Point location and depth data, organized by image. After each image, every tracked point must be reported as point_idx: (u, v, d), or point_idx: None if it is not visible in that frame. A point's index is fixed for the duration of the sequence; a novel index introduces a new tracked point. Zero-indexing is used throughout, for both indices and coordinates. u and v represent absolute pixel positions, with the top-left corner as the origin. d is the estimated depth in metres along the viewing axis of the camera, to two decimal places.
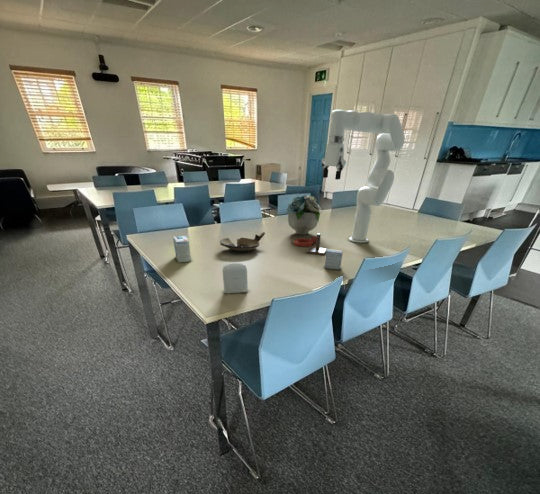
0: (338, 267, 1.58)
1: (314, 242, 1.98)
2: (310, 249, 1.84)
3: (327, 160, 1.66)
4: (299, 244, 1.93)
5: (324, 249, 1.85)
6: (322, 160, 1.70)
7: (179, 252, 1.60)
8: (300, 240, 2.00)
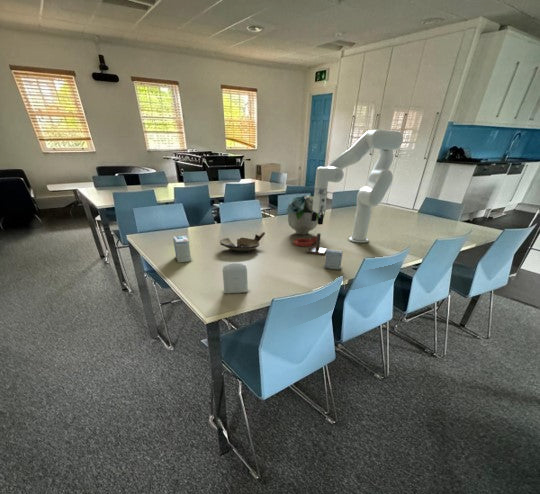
0: (338, 267, 1.58)
1: (314, 242, 1.98)
2: (310, 249, 1.84)
3: (313, 207, 1.89)
4: (299, 244, 1.93)
5: (324, 249, 1.85)
6: (312, 206, 1.94)
7: (179, 252, 1.60)
8: (300, 240, 2.00)
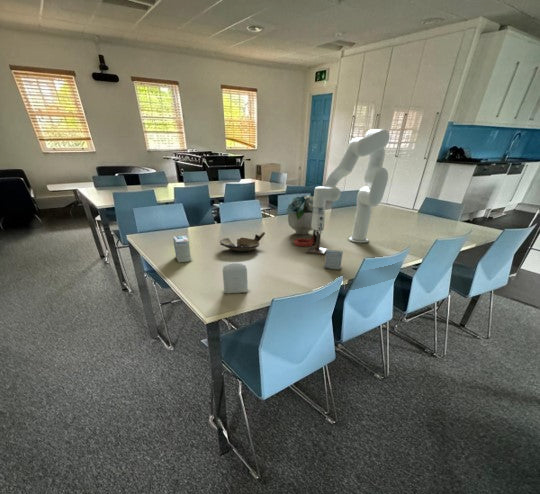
0: (338, 267, 1.58)
1: (314, 242, 1.98)
2: (310, 249, 1.84)
3: (312, 224, 1.95)
4: (299, 244, 1.93)
5: (324, 249, 1.85)
6: (312, 227, 1.99)
7: (179, 252, 1.60)
8: (300, 240, 2.00)
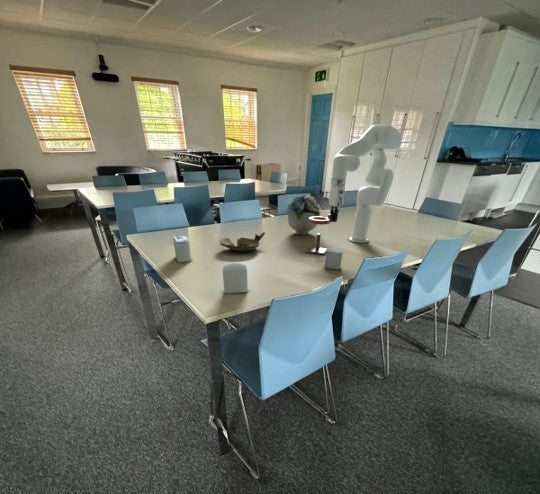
0: (338, 267, 1.58)
1: (332, 220, 1.76)
2: (310, 249, 1.84)
3: (330, 200, 1.72)
4: (315, 222, 1.70)
5: (324, 249, 1.85)
6: (329, 204, 1.77)
7: (179, 252, 1.60)
8: (316, 218, 1.78)
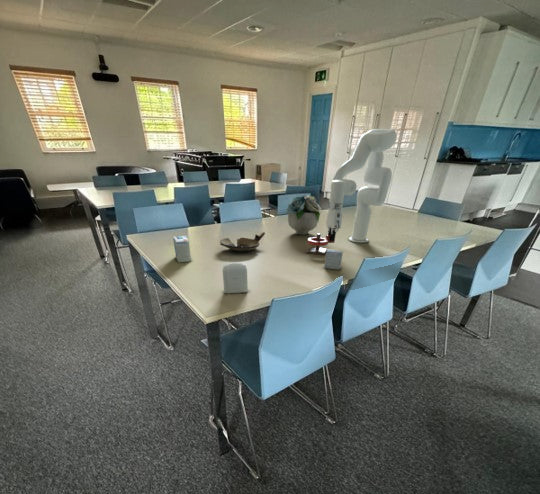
0: (338, 267, 1.58)
1: (329, 241, 1.82)
2: (310, 249, 1.84)
3: (328, 222, 1.79)
4: (313, 243, 1.77)
5: (324, 249, 1.85)
6: (327, 225, 1.83)
7: (179, 252, 1.60)
8: (314, 239, 1.84)
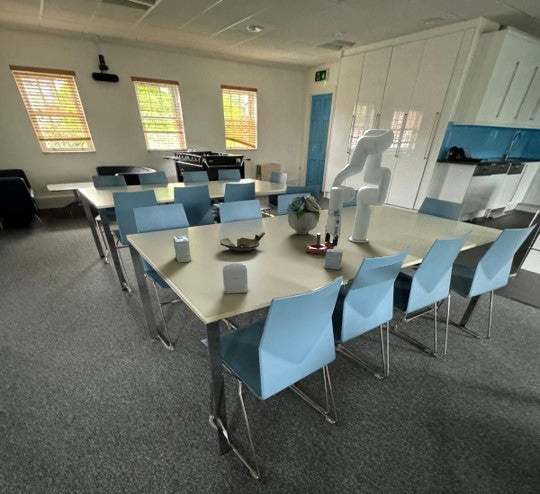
0: (338, 267, 1.58)
1: (329, 248, 1.84)
2: None
3: (327, 228, 1.81)
4: (313, 250, 1.79)
5: None
6: (325, 226, 1.86)
7: (179, 252, 1.60)
8: (313, 245, 1.86)
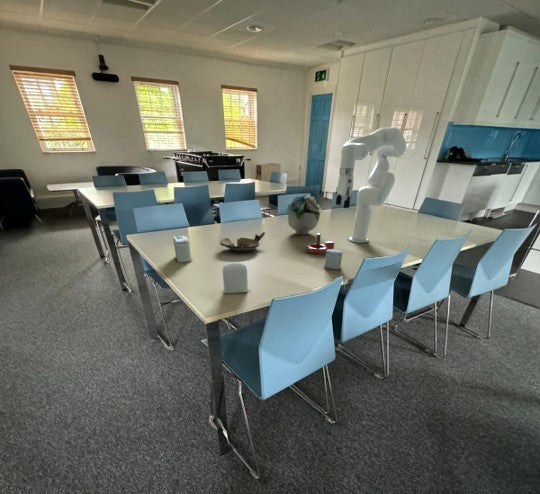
0: (338, 267, 1.58)
1: (329, 248, 1.84)
2: None
3: (338, 189, 1.74)
4: (313, 250, 1.79)
5: None
6: (336, 188, 1.79)
7: (179, 252, 1.60)
8: (313, 245, 1.86)
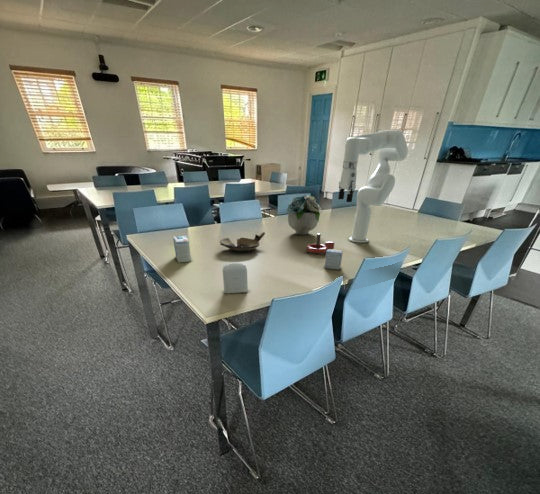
0: (338, 267, 1.58)
1: (329, 248, 1.84)
2: None
3: (341, 183, 1.74)
4: (313, 250, 1.79)
5: None
6: (339, 183, 1.79)
7: (179, 252, 1.60)
8: (313, 245, 1.86)
